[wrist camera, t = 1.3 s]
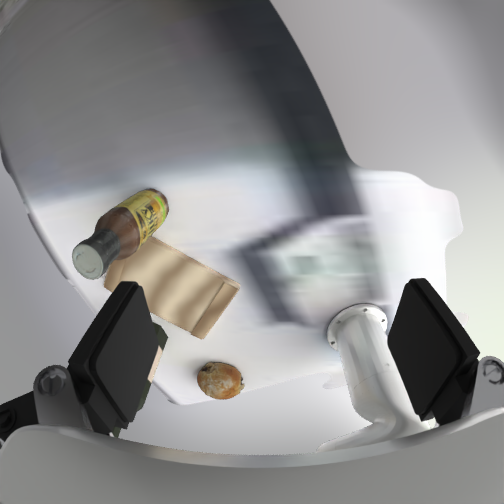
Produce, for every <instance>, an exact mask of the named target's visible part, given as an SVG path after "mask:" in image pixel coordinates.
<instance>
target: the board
mask: <svg viewBox="0 0 504 504" xmlns="http://www.w3.org/2000/svg"><path fill="white" fill-rule="evenodd" d="M121 281H136V282H137V283H138V285H139V286H142V287H143V290H144V294H145V297H146V301H147V305H148V308H149V312H151V313H153V314H155V315H157V316H159V317H161V318H163V319H164V320H166V321H168V322H170V323H172V324H174V325H176V326H178V327H180V328H182V329H184V330H186V331H188V332H190V333H191V335H193V336H195V337H197V338H200V339H204V338H205V336H206V335H207V334H208V332H209V331H210V329H211V328H212V327H213V325H214V324H215V322H216V321H217V320H218V318H219V317H220V316H221V314H222V313H223V311H224V310H225V309H226V307H227V306H228V304H229V303H230V302H231V300H232V299H233V297H234V296H235V295H236V293H237V292H238V290H239V289H240V284H239V283H237V282H235V281H233V280H231V279H229V278H227V277H225V276H223V275H222V274H220V273H218V272H216V271H214V270H212V269H210V268H208V267H207V266H205V265H203V264H201V263H199V262H197V261H196V260H194V259H192V258H190V257H188V256H186V255H185V254H183V253H181V252H179V251H177V250H176V249H174V248H172V247H170V246H168V245H167V244H165V243H163V242H161V241H159V240H158V239H156V238H154V237H152V236H150V237H149V238H148V239H147V241H146V242H145V243H144V244H143V245H142V246H141V247H140V248H139V249H138V250H137V251H136V252H135V253H134V254H132V255H131V256H130V257H128V258H126V259H122V260H114V261H113V262H112V263H111V264H110V265H109V268H108V271H107V275H106V278H105V281H104V287H105V288H106V289H108V290H109V291H111V292H113V291H114V290H115V288H116V287H117V286H118V284H119V283H120V282H121Z"/></svg>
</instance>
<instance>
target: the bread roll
mask: <svg viewBox="0 0 504 504" xmlns="http://www.w3.org/2000/svg"><path fill="white" fill-rule="evenodd" d="M242 380H243V378H242V377H241V373H240V372H239V371H238V370H237V369H236V368H235V367H233V366H230V365H229V364H224V363H212V362H209V363H207V364H206V366H204V367H203V368H202V369H201V370H200V372H199V373H198V376H197V382H198V385H199V387H200V388H201V390H202V391H203V392H204V393H205V394H206V395H208V396H210V397H212V398H215V399H229V398H232V397H234V396H236V395H238V394H239V393H240V390H242V389H243V388H244V386H245V385H244V384H242V383H241V381H242Z"/></svg>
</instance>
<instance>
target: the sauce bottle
mask: <svg viewBox="0 0 504 504" xmlns="http://www.w3.org/2000/svg"><path fill="white" fill-rule="evenodd" d="M168 212H169V207H168V203H167V199H166V197H165V196H164V195H163V194H162V193H161V192H159V191H157V190H155V189H146V190H143V191H140V192H138V193H137V194H135V195H133V196H132V197H130V198H128V199H127V200H125V201H123V202H122V203H120V204H118V205H117V206H115V207H114V208H112V209H111V210H110V211H108V212H107V213H106V214H104V215H103V216H101V217H100V219H99V220H98V222H97V224H96V227H95V232H94V234H93V235H92V236H91V237H90V238H88V239H86V240H84V241H82V242H80V243H79V244H78V245H77V246H76V247H75V248H74V250H73V253H72V259H73V264H74V266H75V268H76V270H77V271H78V272H79V273H80V274H81V275H82V276H83V277H85V278H87V279H92V280H94V279H98V278H99V277H101V276H102V275H103V274H104V273H105V272H106V270H107V269H108V266H109V265H110V264H111V263H112V262H113V261H114V260H122V259H126V258H128V257H130V256H131V255H132V254H134V253H135V252H136V251H137V250H138V249H139V248H140V247H141V246H142V245H143V244H144V243H145V242H146V241H147V239H148V238H149V237H150V236H151V235H152V234H153V233H154V232H155V231H156V230H157V229H158V228H159V227H160V226H161V225H162V223H163V222H164V220H165V218H166V216H167V214H168Z"/></svg>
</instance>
